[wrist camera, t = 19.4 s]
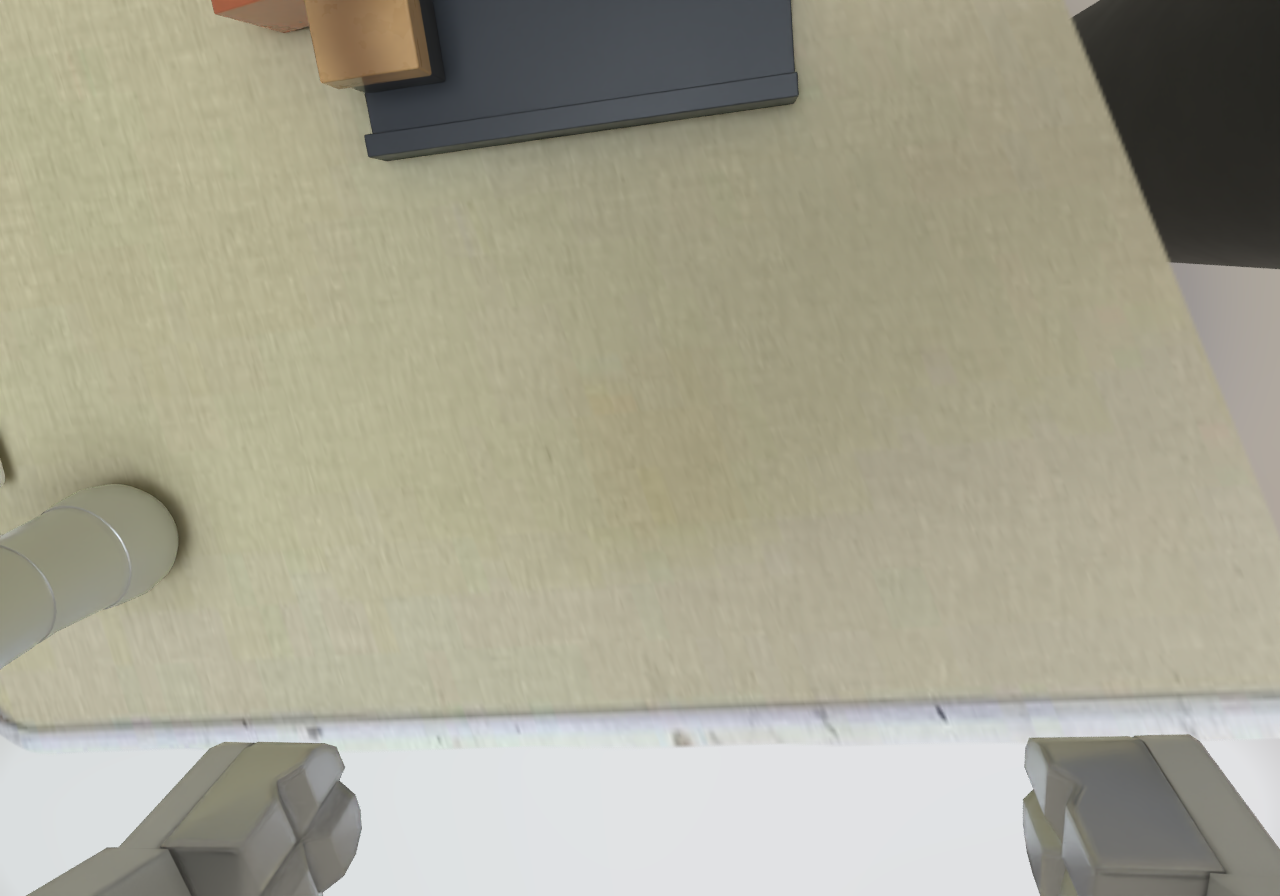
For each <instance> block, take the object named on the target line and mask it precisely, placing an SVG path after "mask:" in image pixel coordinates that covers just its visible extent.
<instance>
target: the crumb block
mask: <svg viewBox="0 0 1280 896" xmlns="http://www.w3.org/2000/svg"><path fill="white" fill-rule="evenodd" d="M211 1H212V5H213V10H214V13H215V14H217V15H220V16H224V17H228V18H231V19H235V20H239V21H243V22H246V23H250V24H254V25H257V26H261V27H265V28H268V29H272V30H276V31H280V32H283V33H286V32H290V31H293V30H297V29H301V28H304V27H308V26H309V22H308V17H307V13H306V8H305V3H304V0H211Z"/></svg>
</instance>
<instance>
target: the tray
mask: <svg viewBox="0 0 1280 896" xmlns="http://www.w3.org/2000/svg"><path fill="white" fill-rule="evenodd" d="M433 6H434V12H435V19H436V25H437V31H438V37H439V43H440V49H441V55H442V61H443V67H444V73H445V82H440V83H434V84H427V85H420V86H413V87H406V88H400V89H393V90H386V91H379V92H373V93H365V97H366V102H367V107H368V112H369V118H370V123H371V128H372V133H373V134H368V135H364V137H365V142H366V147H367V152H368V157H370V158H375V159H379V160H384V161H391V160H398V159H405V158H412V157H419V156H426V155H433V154H440V153H447V152H454V151H461V150H468V149H476V148H483V147H490V146H497V145H504V144H511V143H518V142H525V141H532V140H539V139H546V138H553V137H561V136H568V135H575V134H582V133H589V132H596V131H603V130H610V129H617V128H624V127H631V126H638V125H646V124H653V123H660V122H667V121H674V120H681V119H688V118H695V117H702V116H709V115H716V114H723V113H731V112H738V111H745V110H752V109H759V108H766V107H773V106H780V105H787V104H793V103H795V101H796V99H797V97H798V95H799V91H798V73H797V72H795V65H794V47H793V30H792V12H791V0H433Z"/></svg>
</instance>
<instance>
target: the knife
mask: <svg viewBox="0 0 1280 896" xmlns="http://www.w3.org/2000/svg"><path fill="white" fill-rule="evenodd" d="M4 482H5V474H4V470H3V466H2V463H1V460H0V487H1V486H2V485H3V484H4Z"/></svg>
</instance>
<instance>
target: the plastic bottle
mask: <svg viewBox="0 0 1280 896" xmlns="http://www.w3.org/2000/svg"><path fill="white" fill-rule="evenodd" d="M177 549H178V532H177V527H176V524H175V522H174V520H173V518H172V516H171V514H170V513H169V511H168V510H167V508H166V507H165V506H164V505H163V504H162V503H161V502H160V501H159V500H158V499H156V498H155V497H154V496H152V495H150V494H149V493H147V492H145V491H142V490H140V489H137V488H134V487H132V486H128V485H123V484H108V485H102V486H97V487H92V488H87V489H83V490H80V491H78V492H76V493H74V494H72V495H70V496H68V497H67V498H65V499H63V500H61V501H60V502H58V503H56V504H54V505H53V506H51V507H50V508H49V509H47V510H46V511H45V512H43V513H42V514H41V515H40V516H38V517H36V518H34V519H32V520H31V521H29V522H27V523H25V524H23V525H21V526H19V527H17V528H15V529H13V530H11V531H9V532H7V533H5V534H3V535H1V536H0V669H2V668H3V667H4V666H6V665H7V664H9V663H10V662H12V661H13V660H15V659H16V658H18V657H19V656H21V655H22V654H24V653H25V652H27V651H28V650H30V649H31V648H33V647H34V646H35V645H36V644H38V643H40V642H42V641H44V640H45V639H47V638H48V637H50V636H51V635H53V634H54V633H56V632H57V631H59V630H61V629H63V628H66V627H68V626H70V625H72V624H74V623H76V622H78V621H80V620H82V619H84V618H86V617H88V616H90V615H92V614H95V613H97V612H99V611H101V610H104V609H108V608H111V607H114V606H118V605H120V604H123V603H125V602H127V601H130V600H132V599H134V598H137V597H139V596H141V595H143V594H145V593H147V592H148V591H149V590H150V589H152V588H153V587H154V586H155V585H156V584H157V583H158V582H159V581H160V580H162V579H163V578H164V577H165V576H166V575H167V574H168V572H169V571H170V570H171V568H172V567H173V564H174V562H175V559H176V554H177Z"/></svg>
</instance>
